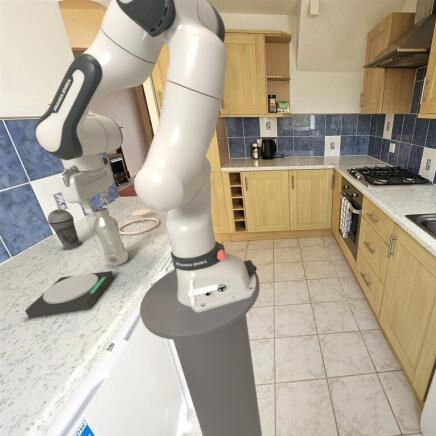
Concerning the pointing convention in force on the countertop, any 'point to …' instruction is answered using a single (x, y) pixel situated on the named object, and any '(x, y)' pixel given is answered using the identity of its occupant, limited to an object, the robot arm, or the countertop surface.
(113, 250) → the plastic bottle
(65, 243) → the beverage cup
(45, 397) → the countertop surface
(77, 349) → the countertop surface
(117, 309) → the countertop surface
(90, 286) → the kitchen scale
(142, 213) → the hand towel holder
